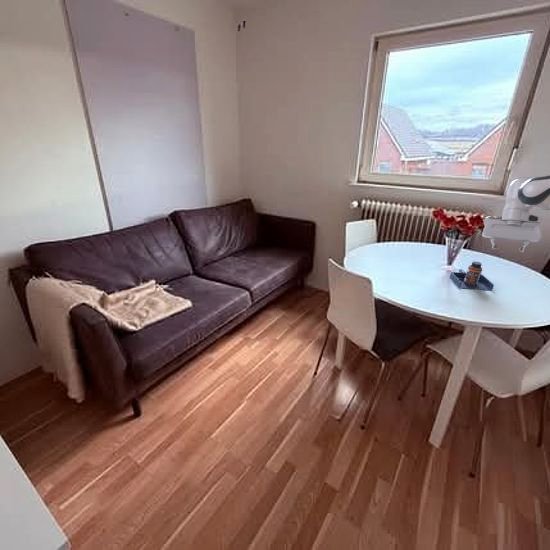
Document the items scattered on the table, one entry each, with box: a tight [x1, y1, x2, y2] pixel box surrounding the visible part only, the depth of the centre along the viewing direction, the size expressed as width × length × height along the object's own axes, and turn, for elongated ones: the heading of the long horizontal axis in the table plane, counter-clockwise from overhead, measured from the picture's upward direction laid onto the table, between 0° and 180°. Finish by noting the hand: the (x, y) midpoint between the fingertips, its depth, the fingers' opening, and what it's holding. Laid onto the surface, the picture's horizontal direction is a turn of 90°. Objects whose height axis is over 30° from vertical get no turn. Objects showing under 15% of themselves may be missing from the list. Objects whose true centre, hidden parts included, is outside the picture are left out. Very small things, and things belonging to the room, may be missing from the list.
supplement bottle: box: [464, 260, 483, 286], centre depth 152 cm, size 6×6×11 cm
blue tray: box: [449, 268, 495, 292], centre depth 158 cm, size 20×15×3 cm
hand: (507, 250), depth 132 cm, fingers open, 8 cm apart
